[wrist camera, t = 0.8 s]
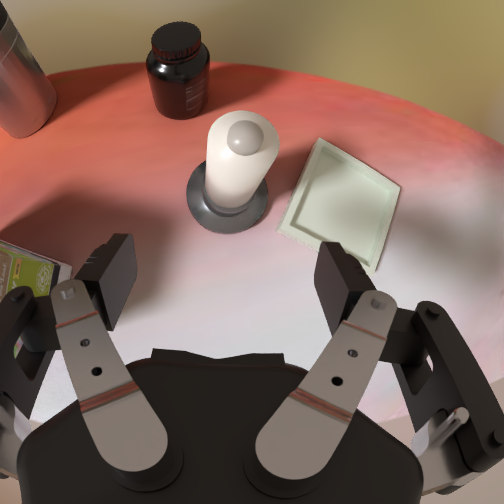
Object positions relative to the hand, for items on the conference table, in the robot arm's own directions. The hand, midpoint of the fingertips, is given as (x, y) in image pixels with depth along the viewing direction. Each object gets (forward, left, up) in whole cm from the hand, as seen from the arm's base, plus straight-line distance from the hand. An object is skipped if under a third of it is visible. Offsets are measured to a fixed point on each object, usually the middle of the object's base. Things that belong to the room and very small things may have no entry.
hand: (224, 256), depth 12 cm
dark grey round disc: (-2, +8, -20) cm, 22 cm away
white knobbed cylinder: (-2, +8, -16) cm, 18 cm away
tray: (+11, +13, -20) cm, 27 cm away
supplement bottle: (-13, +17, -20) cm, 30 cm away
